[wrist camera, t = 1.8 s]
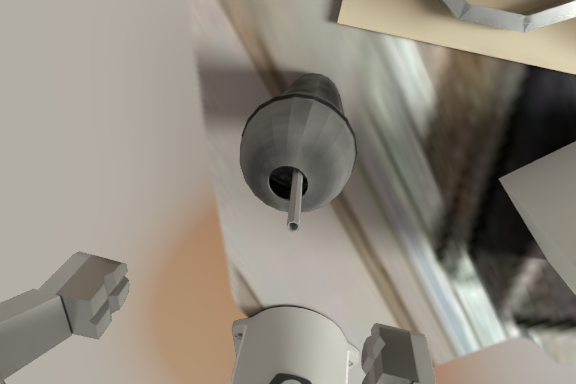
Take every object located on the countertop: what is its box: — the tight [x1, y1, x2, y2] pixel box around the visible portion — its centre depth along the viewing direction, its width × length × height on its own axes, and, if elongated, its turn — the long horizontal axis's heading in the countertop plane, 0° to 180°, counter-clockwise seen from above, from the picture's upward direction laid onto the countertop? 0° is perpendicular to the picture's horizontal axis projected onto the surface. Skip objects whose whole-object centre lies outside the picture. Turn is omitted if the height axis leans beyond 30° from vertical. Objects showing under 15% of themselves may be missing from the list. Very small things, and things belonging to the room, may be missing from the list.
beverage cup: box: [240, 74, 357, 232], centre depth 22 cm, size 7×7×20 cm
